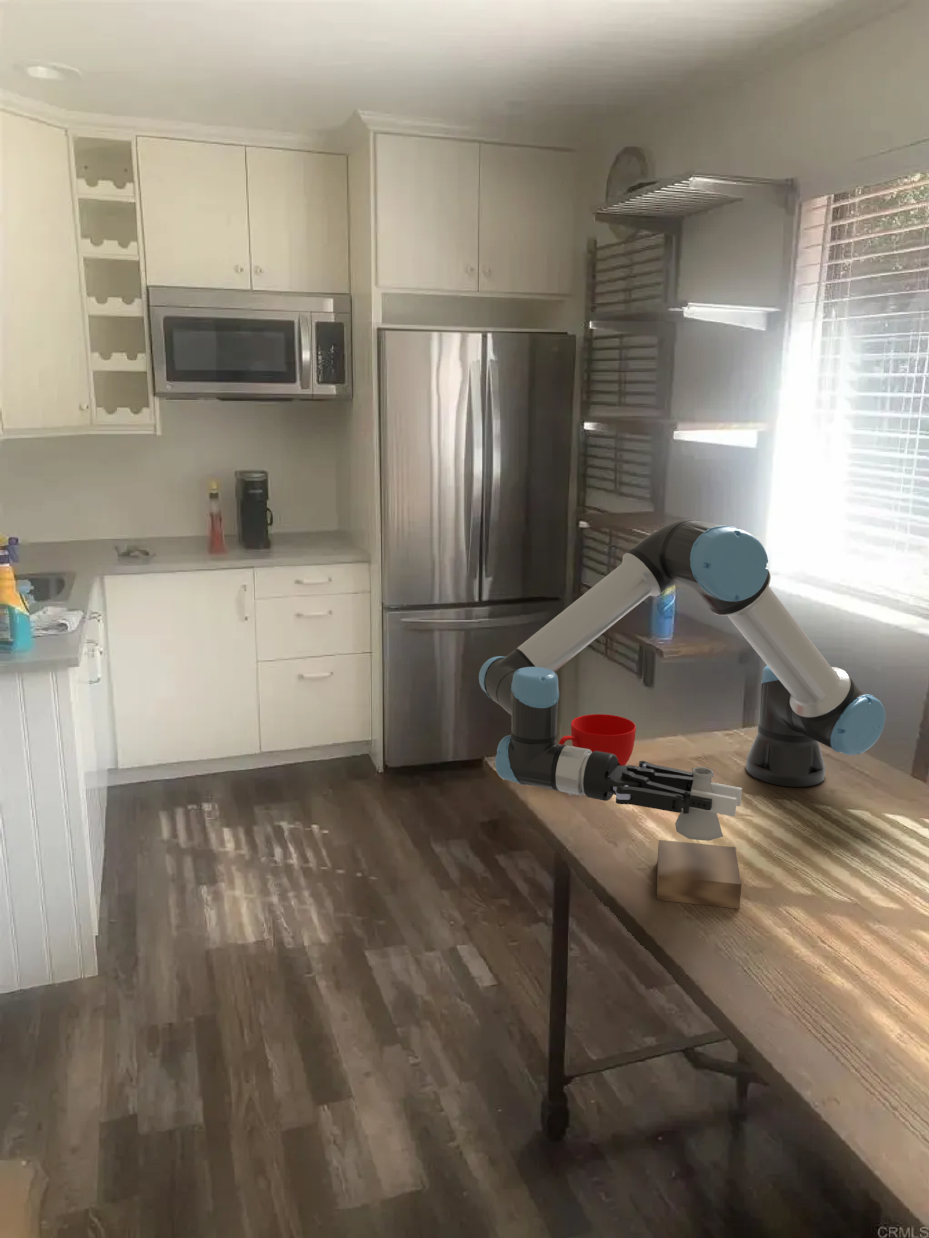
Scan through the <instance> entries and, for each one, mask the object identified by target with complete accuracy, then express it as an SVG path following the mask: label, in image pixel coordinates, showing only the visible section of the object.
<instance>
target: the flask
mask: <svg viewBox="0 0 929 1238" xmlns="http://www.w3.org/2000/svg"><path fill="white" fill-rule="evenodd" d="M691 772H693V775H694V778H693V784H692V788H691V791H692V790H698V791H704V792H709V793H712V790H711V782H712V779H713V778H712V777H714V775H715V773H714V770H713V769H711V768H709V767H705V766H696V767H693V768H691ZM691 791H690V795H691ZM674 826H675V829H676V830H675V831H676V833H678V834H680V835H681V836H683V837H684V838H686V839H687V840H692V841H693V840H694V841H695V840H696V841H707V842H709V841H713V840H716V839H721V838H723V837H724V835H723V832H722V827H721V824H720V820H719V817H718V813H713V812H708V811H703V810H698V809H693V808H690V807H689V813H688V814H684V813H683V809H682V812H680V813H679V814H678V816H677V819H676V820H675V823H674Z"/></svg>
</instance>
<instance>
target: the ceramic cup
mask: <svg viewBox="0 0 929 1238" xmlns="http://www.w3.org/2000/svg"><path fill="white" fill-rule="evenodd" d="M570 724H571V725H570V733H571V735H563V736H562V737H561V738H560V740H559V742H558V744H561V745H565V742H566V741H569V740H570V741H571V744H572V746H573V747H579V748H585V749H590V750H591V751H592V752H594V751H600V752H605V753H611V754H614V755H616V757H617V759H618V762H619V764H620V765H625V766H627V763H628V762H629V760H630V758H631V756H632V753H633V750H634V746H635V741H636V740H635V739H636V730H637V729H636V728H637V727H636V723H634V721H632V720H630V719H628V718H626V717H623V716H619V715H613V714H604V713H603V714H602V713H599V714H597V713H594V714H592V713H591V714H585V715H581V716H578V717H575V718H574V719H573V720H571V723H570Z"/></svg>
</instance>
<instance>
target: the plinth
mask: <svg viewBox="0 0 929 1238" xmlns="http://www.w3.org/2000/svg"><path fill="white" fill-rule="evenodd" d="M657 843H658V846H657V861H656V863H657V864H656V865H657V866H656V868H657V871H656V875H657V876H656V878H657V879H656V883H657V884H656V901H666V902H675V903H682V904H692V905H693V904H694V905H702V906H710V907H717V908H720V907H721V908H730V909H737V910H739V909H740V906H741V894H742V893H741V892H742V880H741V875H740V867H739V862H738V861H739V860H738V856H737V849H736V846H730V845H729V846H726V845H717V844H705V843H698V842H688V841H687V842H686V841H685V842H684V841H675V840H667V839H666V840H665V839H658V842H657Z"/></svg>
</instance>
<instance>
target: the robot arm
mask: <svg viewBox="0 0 929 1238" xmlns="http://www.w3.org/2000/svg"><path fill="white" fill-rule="evenodd" d="M768 558H769V557H768V555H767V552H766V549H765V547H764V545H763V543H761V541H760V540H759V539H758V538H757V537H756V536H754V535H753V534H751V533H749V532H748V531H745V530H743V529H740V528H738V527H736V526H731V525H722V524H717V523H716V524H715V523H711V522H705V521H701V520H698V519H688V518H687V519H680V520H676V521H673V522H670V523H668V524H666V525H664V526H662V527H660V528H659V529H657V530H656V531H654V532H653V533H651V534H649V535H648V536H645V538H644V539H642V540H641V541H639V542H638V543H637V544H636V545H634V546H633V547H632V548H630V549H629V550H628V551H627V552H625V553H624V554H623V555H622V561H621V562H622V563H621V564H620V565H618V566H617V567H616V568H615V569H613V570H612V571H611V572H610V573H609V574H607V575H606V576H605V577H604V578H602V579H600V581H598V582H597V583H596V584H594V585H593V586H592V587H590V588H589V590H587V591H586V592H585V593H584V594H583V595H581V596H580V597H579V598H577V599H576V600H575V601H573V602H572V603H571V604H570V605H569V606H567V607H566V608H565V609H564V610H563V611H561V612H560V613H559V614H557V616H555V617H554V618H552V619H551V620H550V621H548V622H547V624H545V625H544V626H543V627H541V628H540V629H539V630H538V631H536V632H535V633H534V634H532V635H531V636H530V637H529V638H528V639H527V640H525V641H524V642H523V643H522V644H520V645H519V646H517V647H516V648H515V649H514V650H513V651H512V652H510V653H509V654H507V655H506V656H502V655H501V656H498V655H497V656H493V657H491V658H489V659H487V660H486V661H485V662H484V663H483V664H482V666H481V667H480V670H479V673H478V682H479V686H480V688H481V690H482V691H483V692H484V693H485V694H486V696H487V697H488V698H489V699H491V701H493V702H494V703H496V704H497V705H499V706H500V707H501V708H502V709H503V710H505V712H507V713H508V714H509V715H510V716H511V732H510V734H509V735H505V736H504V737H503V738H502V739H501V740H500V741H499V743H498V745H497V749H496V755H495V757H494V758H495V759H494V764H495V771H496V773H497V775H498V776H499V777H500V778H501V779H503V780H506V781H510V782H512V783H513V782H514V783H516V784H519V785H522V786H530V787H531V786H532V787H536V788H543V789H548V790H553V791H557V792H562V793H566V794H568V795H569V796H571V797H572V796H574V795H576V796H581V797H583V796H586V797H587V798H590V799H594V800H599V801H605V802H607V801H609V800H611V799H612V797H613V796H615V804H617V805H632V806H637V807H638V806H639V807H642V808H649V809H654V810H660V811H666V812H672V813H677V814H678V813H679V814H680V813H681V812H682V809H683V813H684V814H688V813H689V807H690V808H693V809H698V810H703V811H708V812H713V813H717V815H718V814H719V815H724V816H729V817H735V816H736V813H737V807H741V804H742V795H743V787H739V786H733V785H729V784H724V783H717V782H714V781H713V782H712V781H711V790H712V793H709V792H704V791H698V790H692V791H691V788H692V784H693V778H694V775H693V772H692V771H687V770H683V769H677V768H673V767H667V766H663V765H659V764H658V765H657V764H654V763H651V762H648V761H645V760H640V761H638V765H632V764H631V765H630V764H628V765H620V764H619V762H618V759H617V757H616V755H614V754H611V753H605V752H600V751H594V752H592V751H591V750H590V749H585V748H579V747H573V745H572V746H571V745H566V744H564V745H561V744H559V743H557V739H558V717H559V716H558V714H559V713H558V712H559V699H560V690H559V678H558V674H557V673H556V672H557V671H558V670H559V669H560V668H561V667H563V666H564V665H565V664H567V662H569V661H570V660H571V659H573V658H574V657H576V655H578V653H580V652H582V650H584V649H586V647H588V646H589V645H590V644H591V643H592V642H594V641H595V640H596V639H597V638H599V637H600V636H601V635H602V634H603V633H604V632H607V630H609V629H610V628H611V627H612V626H614V625H615V624H616V623H617V622H618V621H619V620H621V619H623V618H624V616H626V615H627V614H628V613H629V612H631V611H632V610H633V609H634V608H636V607H637V606H639V604H641V603H642V602H644V600H646V599H647V598H648V597H650V596H651V597H658V596H659V595H661V594H662V593H663V592H665V591H666V590H668V589H669V588H671V587H674V586H678V585H679V586H683V587H686V588H688V589H691V590H693V591H694V592H695V593H696V594H697V595H698V596H699V597H700V599H701V600H702V601H703V602H704V603H705V605H706V606H707V607H708V608H709V610H711V612H712V613H713V614H714V615H716V616H720V617H726V616H727V618H728V619H729V620H730V621H731V622H732V624H733V625H734V626H735V628H736V629H737V630H738V631H739V632H740V633H741V635H742V637H744V638H745V640H746V641H747V642H748V643H749V645H750V646H751V647H752V649H753V650H754V651H755V652H756V653H757V654H758V656H759V657H760V659H761V660H762V661H763V662H764V663H765V664H766V665H765V666H764V668H763V670H762V675H761V681H760V693H759V694H760V695H759V709H758V710H759V711H758V724H757V725H758V726H757V734H756V736H755V738H754V740H753V743H752V744H751V747H750V750H749V751H748V754H747V757H746V762H745V764H746V765H745V770H746V772H747V773H748V774H749V775H750V776H752V777H753V778H754V779H757V780H760V781H761V782H765V783H768V784H772V785H776V786H782V787H788V788H790V787H791V788H805V787H812V786H816V785H819V784H821V783H822V782H824V780H825V774H826V765H825V761H824V758H823V753H822V749H821V745H820V744H822V745H824V746H826V747H828V748H830V749H832V751H834V752H837V753H841V754H843V755H846V756H855V755H860V754H863V753H865V752H866V751H868V750H869V749H870V748H872V747H873V746H874V745H875V744H876V743H877V741H878V740H879V738H880V737H881V735H882V733H883V731H884V727H885V723H886V717H887V716H886V710H885V706H884V705H883V703H882V702H881V700H880V699H878V698H876V697H875V696H874V695H873V694H868V693H865V692H863V691H862V690H861V689H860V688H859V687H858V686H857V684H856V683H855V681H853V679H852V678H851V677H850V675H849V674H848V673H847V671H845V670H844V669H843V668H839V667H836V666H831V665H830V664H829V663H828V661H827V660H826V659H825V657H824V656H823V654H822V653H821V651H820V650H818V648H817V647H816V646H815V644H814V643H813V641H812V640H811V639H810V638H809V636H808V635H807V634H806V633H805V631H804V630H803V628H802V627H801V626H800V625H799V623H798V622H797V621H796V620H795V618H794V617H793V616H792V614H791V613H790V612H789V610H788V609H787V608H786V606H785V605H784V604H783V603H782V601H781V600H780V598H779V597H778V596H777V595H776V593H775V592H774V591H773V590H772V588H771V587H770V583H771V578H772V577H771V572H770V570H769V568H768V566H767V564H768V563H769V559H768ZM690 791H691V795H690Z"/></svg>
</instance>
